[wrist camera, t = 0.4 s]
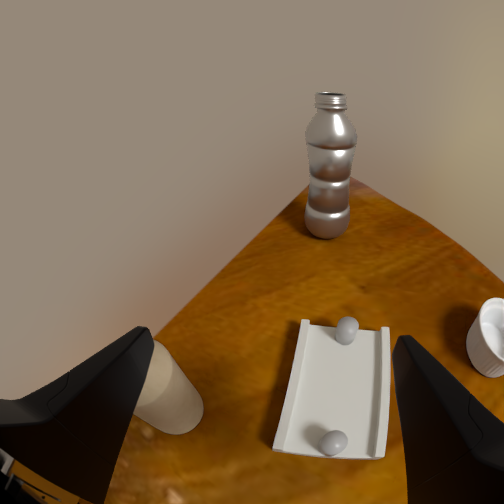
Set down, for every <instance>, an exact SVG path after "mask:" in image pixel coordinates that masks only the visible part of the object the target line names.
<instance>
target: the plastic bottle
mask: <svg viewBox="0 0 504 504" xmlns="http://www.w3.org/2000/svg"><path fill="white" fill-rule="evenodd" d="M315 101H316V103H315V108H318V110H317V113H316V114H315V116H314V117H313V118H312V120H311V121H310V123H309V125H308V126H307V129H306V133H305V137H306V145H307V151H308V157H309V170H310V185H309V194H308V201H307V205H306V209H305V215H304V217H305V223H306V227H307V229H308V230H309V231H310V232H311V233H312V234H313V235H314V236H316V237H319V238H324V239H331V238H336V237H338V236H340V235H341V234H342V233H344V232H345V230H346V229H347V226H348V223H349V220H350V208H349V181H350V174H351V166H352V161H353V156H354V152H355V147H356V142H357V134H356V130H355V128H354V126H353V124H352V123H351V121H350V120H349V119H348V117H347V116H346V114H345V110H347V105H346V95H345V94H342V93H333V92H317V93H316V94H315Z"/></svg>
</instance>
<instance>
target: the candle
mask: <svg viewBox="0 0 504 504" xmlns="http://www.w3.org/2000/svg"><path fill="white" fill-rule="evenodd" d="M153 341H154V345H155V346H154V351H153V355H152V358H151V362H150V366H149V369H148V373H147V377H146V380H145V383H144V386H143V388H142V391H141V394H140V396H139V399H138V402H137V404H136V407H135V410H134V412H133V414H134V415H136V416H137V417H139V418H141V419H142V420H144V421H145V422H147V423H149V424H150V425H152V426H154V427H155V428H157V429H159V430H161V431H163V432H165V433H169V434H183V433H186V432H189V431H191V430H192V429H193V428H195V427H196V426H197V425H198V423H199V422H200V420H201V418H202V415H203V402H202V399H201V396H200V395H199V393H198V392H197V390H196V389H195V388H194V386H193V385H192V384H191V382H190V381H189V380H188V378H187V377H186V376H185V374H184V373H183V372H182V370H181V369H180V368H179V366H178V365H177V363H176V362H175V361H174V359H173V358H172V356H171V355H170V353H169V352H168V351H167V349H166V348H165V347H164V346H163V345H162V344H161V343H159V342H157V341H155V340H153Z"/></svg>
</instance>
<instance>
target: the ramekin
mask: <svg viewBox="0 0 504 504" xmlns="http://www.w3.org/2000/svg"><path fill="white" fill-rule="evenodd" d="M466 347H467V353H468V356H469V358H470V360H471V362H472V364H473V366H474V367H475V368H476V369H477V370H478V371H479V372H480V373H481V374H483V375H485V376H487V377H491V378H495V377H499V376H501V375H503V374H504V299H501V298H491V299H489V300H487V301H486V302H485V303H484V304H483V305H482V307H481V309H480V311H479V314H478V316H477V318H476V319H475V321H474V323H473V324H472V326H471V328H470V329H469V331H468V334H467V339H466Z"/></svg>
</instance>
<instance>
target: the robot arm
mask: <svg viewBox="0 0 504 504" xmlns="http://www.w3.org/2000/svg"><path fill="white" fill-rule="evenodd" d="M154 346H155V345H154V341H153V338H152V336H151V333H150V331H149V329H148V328H147V327H142V326H137V327H136V328H134V329H132V330H131V331H129V332H128V333H126V334H125V335H123V336H122V337H120V338H119V339H117V340H116V341H114V342H113V343H111V344H110V345H108V346H107V347H105V348H104V349H102V350H101V351H99V352H98V353H96V354H94V355H93V356H91V357H90V358H89V359H87V360H85V361H84V362H82V363H81V364H79V365H78V366H76V367H75V368H73V369H72V370H70V372H67V373H66V374H64V375H63V376H61V377H59V378H58V379H56V380H55V381H53V382H51V383H50V384H48V385H46V386H44V387H42V388H40V389H39V390H36V391H35V392H33V393H31V394H29V395H27V396H25V397H23V398H21V399H17V400H4V399H0V504H79V503H78V500H79V498H82V499H84V500H87V501H89V502H91V503H93V504H104V501H105V497H106V494H107V491H108V487H109V484H110V481H111V478H112V474H113V471H114V468H115V464H116V461H117V458H118V455H119V452H120V449H121V446H122V443H123V440H124V438H125V435H126V432H127V429H128V426H129V423H130V421H131V418H132V415H133V412H134V410H135V407H136V404H137V402H138V399H139V396H140V394H141V391H142V388H143V386H144V383H145V380H146V377H147V373H148V369H149V366H150V362H151V358H152V355H153V351H154ZM392 361H393V370H394V381H395V392H396V399H397V405H398V410H399V416H400V423H401V430H402V437H403V444H404V453H405V463H406V475H407V490H408V492H407V494H408V504H504V423H503V422H502V421H500V420H499V419H498V418H497V417H496V416H494V415H493V414H492V413H491V412H490V411H489V410H488V409H487V408H485V407H484V406H483V405H482V404H481V403H480V402H479V401H478V400H477V399H476V398H475V397H474V396H473V395H472V394H470V392H469V391H468V390H467V389H466V388H465V387H464V386H463V385H462V384H461V383H460V382H459V381H458V380H457V379H456V378H455V377H454V376H453V375H452V374H451V373H450V372H449V371H448V370H447V369H446V368H445V367H444V366H443V365H442V364H441V363H440V362H439V361H438V360H436V359H435V358H434V357H433V356H432V355H431V354H430V353H429V352H428V351H427V350H426V349H425V348H424V347H423V346H422V345H420V344H419V343H418V342H417V341H416V340H415V339H414V338H413V337H412V336H410V335H402V336H399V337H398V339H397V342H396V345H395V347H394V350H393V353H392Z"/></svg>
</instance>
